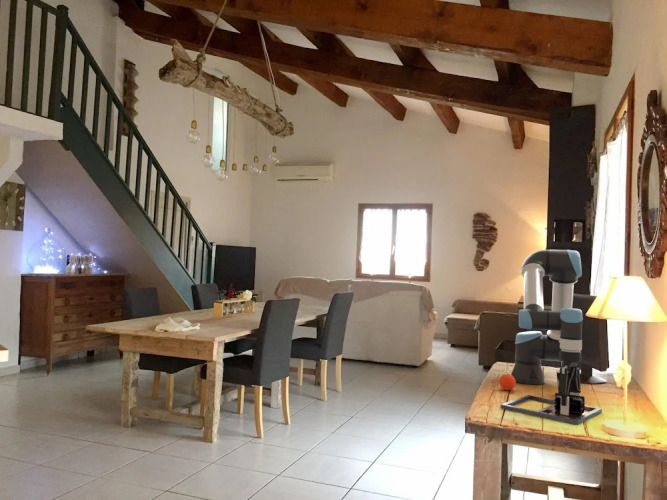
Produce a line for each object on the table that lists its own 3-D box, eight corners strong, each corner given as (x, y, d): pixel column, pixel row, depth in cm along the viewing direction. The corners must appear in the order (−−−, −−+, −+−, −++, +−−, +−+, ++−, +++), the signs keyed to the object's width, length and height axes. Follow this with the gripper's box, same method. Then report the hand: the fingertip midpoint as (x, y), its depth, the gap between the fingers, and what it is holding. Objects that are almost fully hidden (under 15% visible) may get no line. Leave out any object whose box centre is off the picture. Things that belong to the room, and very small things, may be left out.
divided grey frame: (528, 398, 232) (528, 394, 232) (601, 412, 212) (601, 408, 212) (500, 408, 214) (500, 404, 214) (577, 424, 195) (577, 420, 195)
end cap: (584, 413, 209) (585, 394, 209) (582, 417, 203) (583, 398, 203) (555, 409, 214) (556, 391, 214) (553, 413, 208) (553, 394, 208)
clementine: (495, 390, 245) (496, 374, 245) (496, 387, 252) (497, 371, 252) (515, 392, 242) (515, 375, 243) (515, 389, 249) (516, 372, 249)
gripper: (571, 346, 219) (569, 405, 219) (548, 351, 204) (547, 415, 204) (591, 349, 214) (589, 409, 214) (570, 354, 199) (568, 419, 198)
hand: (569, 412), depth 209 cm, fingers closed on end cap, 8 cm apart
